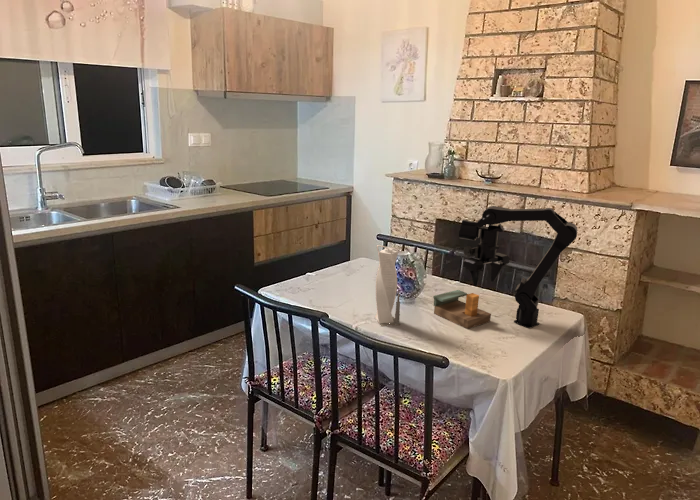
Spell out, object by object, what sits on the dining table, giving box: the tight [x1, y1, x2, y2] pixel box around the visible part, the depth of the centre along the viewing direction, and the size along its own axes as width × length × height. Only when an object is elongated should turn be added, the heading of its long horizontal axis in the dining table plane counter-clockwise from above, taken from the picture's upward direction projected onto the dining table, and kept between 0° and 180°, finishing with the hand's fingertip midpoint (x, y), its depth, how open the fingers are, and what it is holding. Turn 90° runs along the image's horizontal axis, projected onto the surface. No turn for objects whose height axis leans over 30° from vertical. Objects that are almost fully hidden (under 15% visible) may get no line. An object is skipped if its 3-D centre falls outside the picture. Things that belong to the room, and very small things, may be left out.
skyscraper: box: [374, 244, 401, 327], centre depth 180 cm, size 8×8×28 cm
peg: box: [465, 292, 480, 317], centre depth 185 cm, size 3×3×10 cm
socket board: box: [432, 289, 492, 330], centre depth 188 cm, size 16×13×7 cm
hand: (484, 284), depth 189 cm, fingers open, 9 cm apart
